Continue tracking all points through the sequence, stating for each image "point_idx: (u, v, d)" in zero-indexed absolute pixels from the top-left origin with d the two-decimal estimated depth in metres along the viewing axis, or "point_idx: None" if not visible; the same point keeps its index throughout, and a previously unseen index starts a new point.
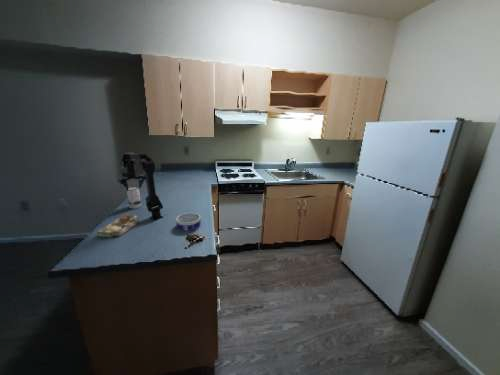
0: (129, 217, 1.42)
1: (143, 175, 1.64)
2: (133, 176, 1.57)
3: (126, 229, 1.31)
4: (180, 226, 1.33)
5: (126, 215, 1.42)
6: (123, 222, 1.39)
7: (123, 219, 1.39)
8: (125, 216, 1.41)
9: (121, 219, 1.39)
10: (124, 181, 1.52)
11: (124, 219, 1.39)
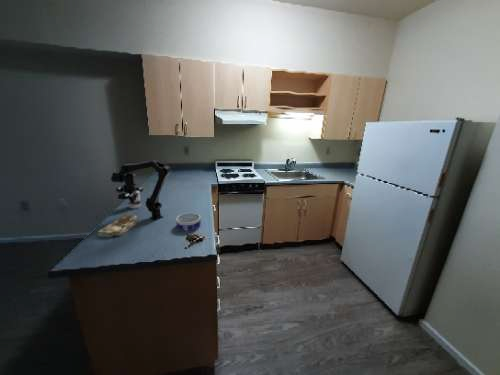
0: (129, 217, 1.42)
1: (140, 187, 1.52)
2: (134, 189, 1.44)
3: (126, 229, 1.31)
4: (180, 226, 1.33)
5: (126, 215, 1.42)
6: (123, 222, 1.39)
7: (123, 219, 1.39)
8: (125, 216, 1.41)
9: (121, 219, 1.39)
10: (128, 196, 1.38)
11: (124, 219, 1.39)
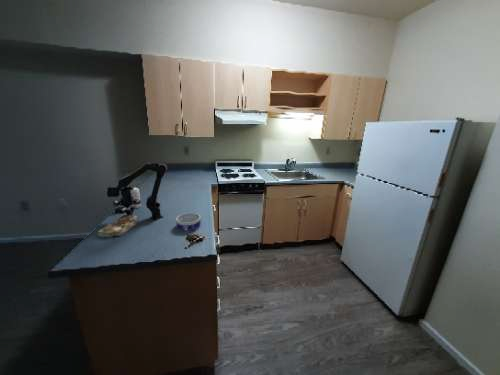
0: (128, 218, 1.41)
1: (137, 200, 1.50)
2: (131, 203, 1.42)
3: (126, 229, 1.31)
4: (180, 226, 1.33)
5: (125, 216, 1.41)
6: (122, 222, 1.39)
7: (122, 220, 1.38)
8: (124, 217, 1.40)
9: (120, 220, 1.38)
10: (125, 210, 1.36)
11: (123, 220, 1.38)
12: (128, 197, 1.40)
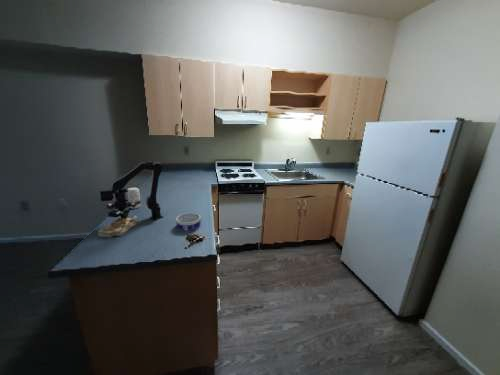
0: (123, 221, 1.36)
1: (132, 202, 1.45)
2: (125, 206, 1.37)
3: (126, 229, 1.31)
4: (180, 226, 1.33)
5: (120, 219, 1.36)
6: (117, 226, 1.34)
7: (116, 223, 1.33)
8: (118, 220, 1.35)
9: (114, 223, 1.33)
10: (119, 213, 1.31)
11: (117, 223, 1.33)
12: (122, 200, 1.34)
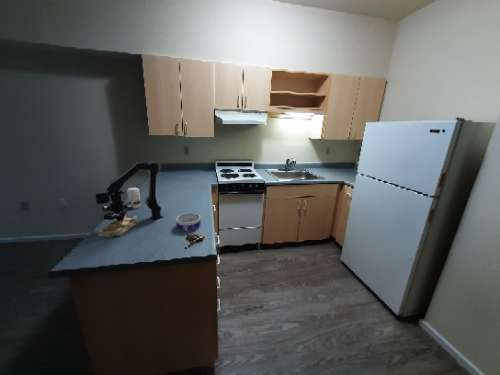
0: (119, 224, 1.33)
1: (129, 204, 1.41)
2: (121, 208, 1.33)
3: (126, 229, 1.31)
4: (180, 226, 1.33)
5: (115, 222, 1.33)
6: (112, 229, 1.30)
7: (112, 226, 1.29)
8: (114, 223, 1.31)
9: (110, 226, 1.30)
10: (115, 216, 1.28)
11: (113, 226, 1.29)
12: (118, 202, 1.31)
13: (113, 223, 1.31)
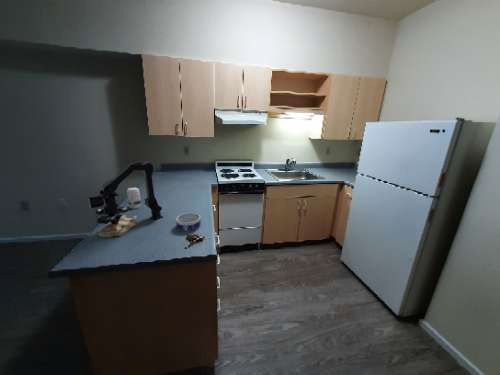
0: (113, 227, 1.28)
1: (124, 207, 1.37)
2: (116, 211, 1.29)
3: (126, 229, 1.31)
4: (180, 226, 1.33)
5: (110, 225, 1.28)
6: None
7: (106, 230, 1.25)
8: (108, 226, 1.27)
9: (104, 230, 1.25)
10: (109, 220, 1.23)
11: (107, 230, 1.25)
12: (112, 205, 1.26)
13: (107, 227, 1.27)
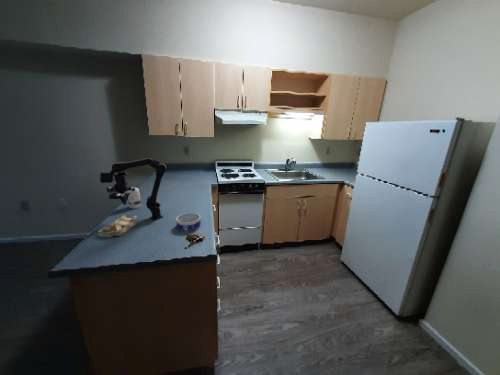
0: (113, 227, 1.28)
1: (132, 186, 1.45)
2: (125, 189, 1.38)
3: (126, 229, 1.31)
4: (180, 226, 1.33)
5: (110, 225, 1.28)
6: None
7: (106, 230, 1.25)
8: (108, 226, 1.27)
9: (104, 230, 1.25)
10: (120, 196, 1.32)
11: (107, 230, 1.25)
12: (122, 183, 1.35)
13: (107, 227, 1.27)
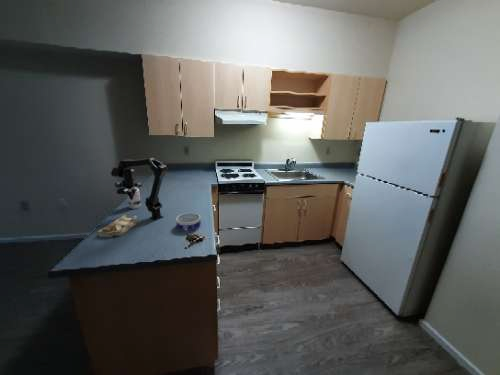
0: (113, 227, 1.28)
1: (138, 182, 1.54)
2: (132, 184, 1.46)
3: (126, 229, 1.31)
4: (180, 226, 1.33)
5: (110, 225, 1.28)
6: None
7: (106, 230, 1.25)
8: (108, 226, 1.27)
9: (104, 230, 1.25)
10: (127, 191, 1.40)
11: (107, 230, 1.25)
12: (130, 179, 1.43)
13: (107, 227, 1.27)
